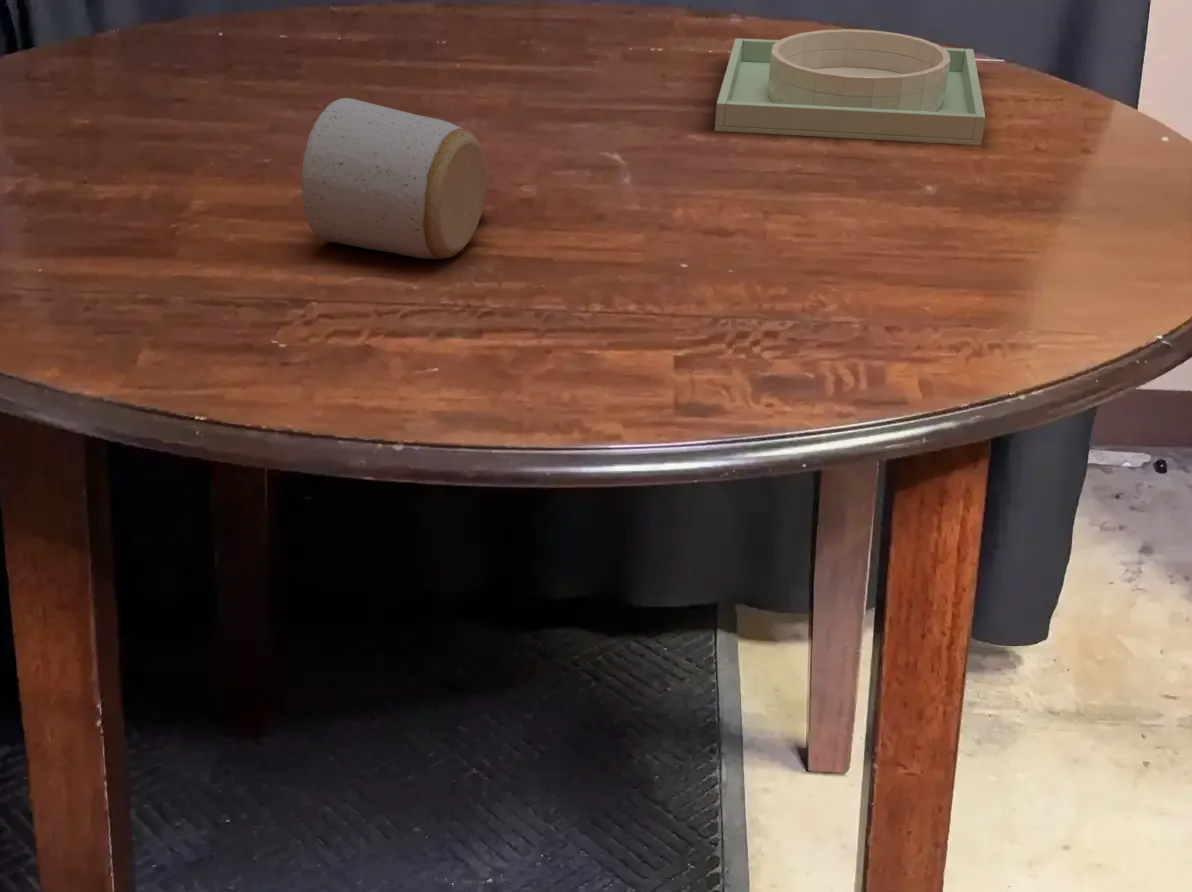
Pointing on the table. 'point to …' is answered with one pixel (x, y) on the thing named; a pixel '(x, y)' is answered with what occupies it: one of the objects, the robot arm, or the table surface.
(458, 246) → the ceramic mug
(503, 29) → the table surface
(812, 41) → the bowl
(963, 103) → the tray
